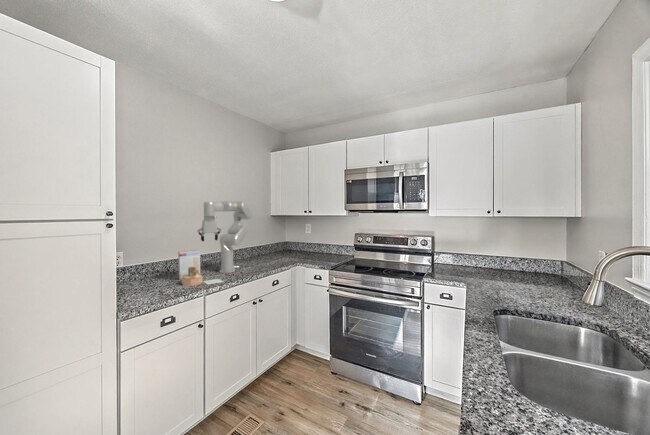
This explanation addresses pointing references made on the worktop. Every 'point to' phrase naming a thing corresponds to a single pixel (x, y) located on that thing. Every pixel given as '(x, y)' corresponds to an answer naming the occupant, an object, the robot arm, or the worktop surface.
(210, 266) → the worktop surface
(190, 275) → the lid
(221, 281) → the mat
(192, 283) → the bowl
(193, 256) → the cracker box
